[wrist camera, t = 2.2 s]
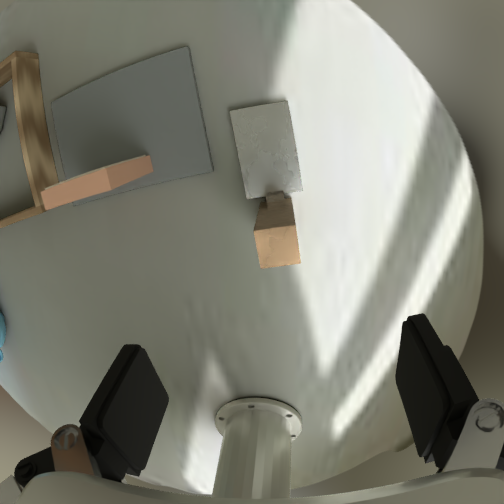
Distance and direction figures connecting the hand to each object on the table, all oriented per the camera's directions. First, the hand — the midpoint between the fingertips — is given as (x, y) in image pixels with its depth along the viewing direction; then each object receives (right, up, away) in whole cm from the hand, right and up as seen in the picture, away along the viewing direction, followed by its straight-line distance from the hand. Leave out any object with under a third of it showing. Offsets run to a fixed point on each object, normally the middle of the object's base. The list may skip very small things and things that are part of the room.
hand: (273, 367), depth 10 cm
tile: (-13, +12, +17) cm, 25 cm away
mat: (-13, +16, +16) cm, 26 cm away
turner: (+1, +11, +16) cm, 20 cm away
